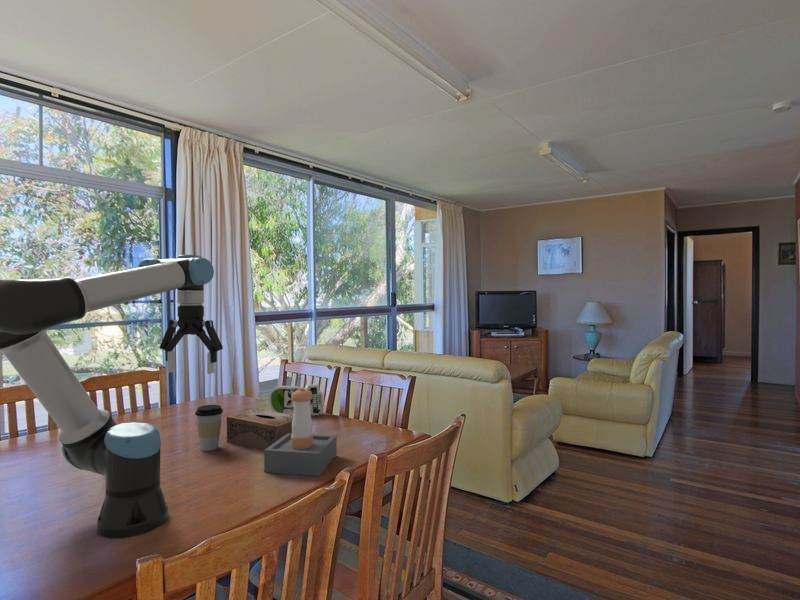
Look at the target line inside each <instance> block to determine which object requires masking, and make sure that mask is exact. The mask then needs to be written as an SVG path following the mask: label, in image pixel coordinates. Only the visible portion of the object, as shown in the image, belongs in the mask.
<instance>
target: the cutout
mask: <svg viewBox="0 0 800 600" xmlns="http://www.w3.org/2000/svg"><path fill="white" fill-rule="evenodd" d="M300 388H301V387H300V386H298V385H293V386H290V385H279V386H275V387H274V388H273V389H272V390H271V391H270V393H269V396H268V403H269V406H270V409H271V411H274V412H279V413H285V414H288V413H287V412H289V413H294V401H293V400H292V398H291V395H292V393H293V392H295V391H297V390H299V389H300ZM303 388H304V390H308V391H311V393H312V395H313V397H312V399H311V400H310V414H311V416H315V415H318V414H320V415H321V413H322V412H323V410H324V406H325V403H324V402H325V400H324V393H323V392H322V391H320V385H319V384H317V383H316V384H313V383H312V384H310V385H308V387H303ZM318 416H319V415H318Z"/></svg>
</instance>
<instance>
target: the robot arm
mask: <svg viewBox="0 0 800 600" xmlns="http://www.w3.org/2000/svg"><path fill="white" fill-rule="evenodd" d="M214 271H215V270H214V265H213V264H212V262H211V261H210V260H209V259H207V258H205V257H203V256H201V255H198V254H179V255H177V257H176V258H164V259H163V258H161V259H160V258H144V259H142V260H141V261H139V263H138V266H137V267H136V268H131V269H126V270H121V271H115V272H109V273H105V274H99V275H96V276H90V277H84V278H80V279H79V278H78V279H74V278H72V277H70V276H64V277H59V278H52V279H50V278H49V279H0V353H2V354H3V355H4V356H5V357H6V358H7V360H8V361H9V363H10V364H11V365H12V367H13V369H15V371H16V372H17V373H18V375H19V376H20V377H21V379H22V380H23V382H24V383H25V384H26V385H27V387H28V388H29V389H30V391H31V392H32V393H33V394H34V396H35V397H36V399H37V400H38V401H39V403H40V404H41V405H42V407H43V408H44V409H45V411H46V412H47V413H48V415H49V416H50V418H52V420H53V421H54V423H55V424H56V426H57V427H58V428H59V429H60V432H59V435H58V441H59V443H60V444H61V445H62V446H61V453H62V455H63V456H62V457H64V459H65V460H66V462H67V463H68V464H70V465H71V466H72V467H75V468H76V469H78V470H83V471H86V472H90V473H95V474H98V475H101V476H104V477H105V497H104V500H103V504H102V506H101V509H100V512H99V516H98V517H97V521H96V531H97V534H98V535H99V536H101V537H104V538H108V539H109V538H111V539H121V538H122V539H123V538H129V537H134V536H138V535H141V534H145V533H146V532H149V531H151V530H153V529H155V528H157V527H159V526H161V525H163V523H164V522H166V520H167V519H168V517H169V505H168V503H167V501H166V499H165V495H164V493H163V490H162V487H161V446H162V442H161V440H162V439H161V435H160V434H161V433H160V430H159V428H157V427H156V426H155V425H153V424H151V423H147V422H136V421H132V422H124V423H123V422H122V423H120V424H118V423H116V421H115V419H114V417H113V416H112V414H110V412H109V411H108V410H107V409H98V407H97V405H96V404H95V402H94V400H92V398H91V397H90V395H89V393H88V392H87V391H86V389H85V388H84V386H83V385H82V383H81V382H80V380H79V379H78V377H77V376H76V374H75V373H74V372H73V370H72V369H71V367H70V366H69V365H68V363H67V362H66V360H65V358H64V357H63V355H62V354H61V353H60V351H59V350H58V348H57V346H56V345H55V343H54V342H53V340H52V339H51V338H50V336H49V335H48V330H49V329H51V328H54V327H58V326H60V325H64V324H67V323H71V322H74V321H78V320H81V319H83V318H84V317H85V316H86V314H88V313H90V312H94V311H97V310H102V309H105V308H109V307H113V306H116V305H117V306H118V305H120V304H124V303H128V302H133V301H136V300H139V299H143V298H147V297H151V296H154V295H158V294H162V293H166V292H170V291H174V290H177V291H176V292H177V296H176V297H177V301H176V302H177V304H178V306H177V317H178V319H170V320H169V321H168V325H167V329H166V331H165V334H164V335H163V337H162V340H161V342H160V344H159V349H160V350H162V351H163V350H164V351H165V361H166V362H167V373H168V374H169V373H174V372H176V350H175V347H176V346H177V345H178V344H179V343H180V341H181V340H182V338H183V337H184V336H185V335H190V336H191V335H192V336H193V335H196V337H198V338H199V339H200V341H201V342H202V343H203V344H204V346H205V347H206V349H207V350H208V352H206V353H207V354H206V355H207V356H206V358H207V359H206V360H207V361H206V363H207V364H206V368H207V371H206V373H207V375H210V374H214V373H215V370H216V369H215V363H216V362H217V361H218V356H217V355H218V351H221V350H223V349H224V346H223V345H222V342H221V340H220V338H219V336H218V333H217V331H216V329H215V326H214V321H213V320H212V319H207V320H204V316H205V306H204V305H203V304H204V302H205V295H204V294H205V288H204V287H205V285H206V284H209V283H210V282H211V281H212V280H213V278H214V274H215V272H214ZM177 327H179V328H178V329H177ZM204 328H205V329H204ZM205 330H206V331H205ZM207 334H208V335H207Z"/></svg>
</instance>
